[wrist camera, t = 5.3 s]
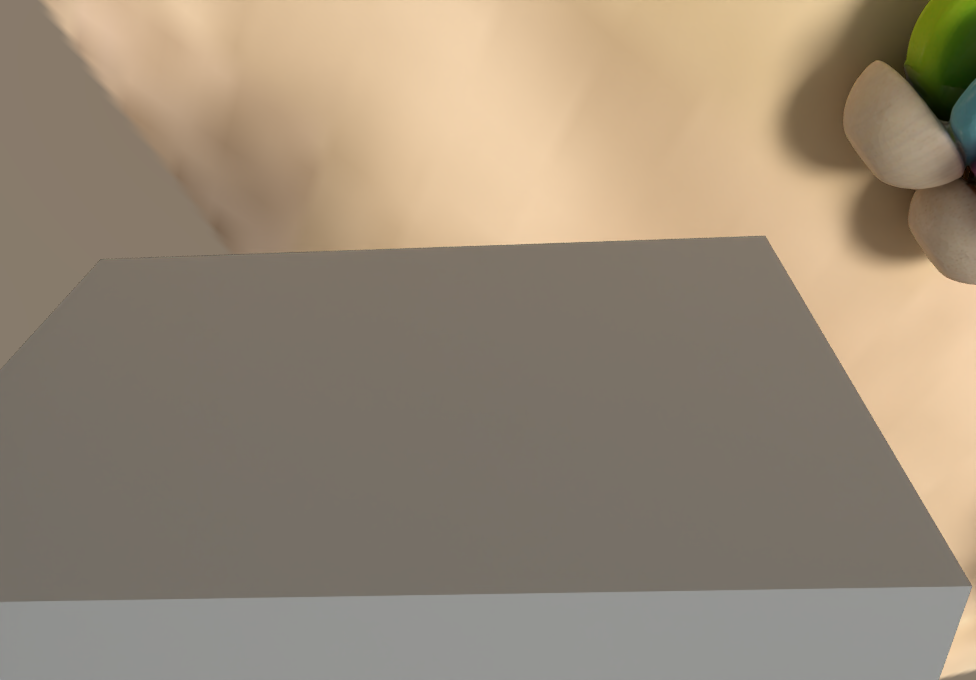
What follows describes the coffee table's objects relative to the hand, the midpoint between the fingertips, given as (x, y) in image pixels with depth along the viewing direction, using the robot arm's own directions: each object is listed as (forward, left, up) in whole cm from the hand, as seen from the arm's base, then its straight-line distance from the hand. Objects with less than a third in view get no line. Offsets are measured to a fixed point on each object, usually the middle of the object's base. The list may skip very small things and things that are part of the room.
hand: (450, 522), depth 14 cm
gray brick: (0, 0, 0) cm, 0 cm away
